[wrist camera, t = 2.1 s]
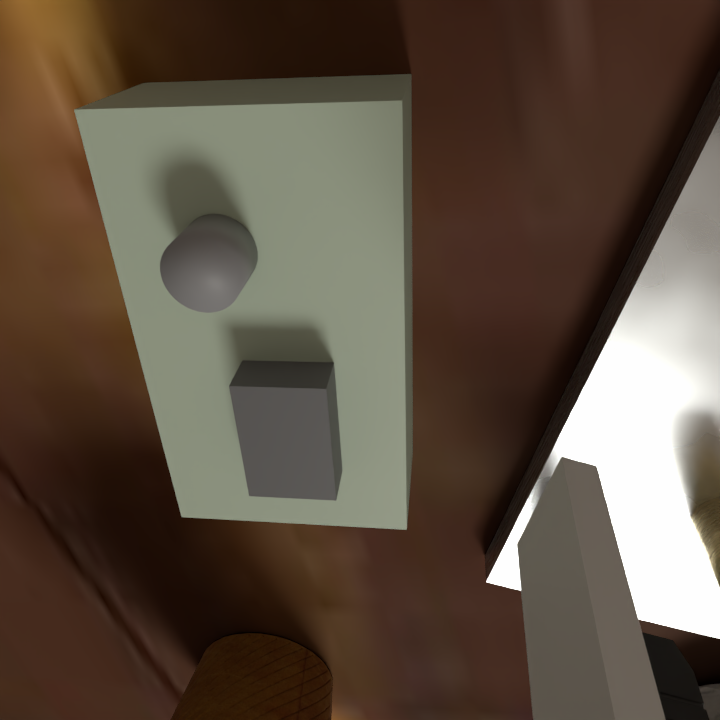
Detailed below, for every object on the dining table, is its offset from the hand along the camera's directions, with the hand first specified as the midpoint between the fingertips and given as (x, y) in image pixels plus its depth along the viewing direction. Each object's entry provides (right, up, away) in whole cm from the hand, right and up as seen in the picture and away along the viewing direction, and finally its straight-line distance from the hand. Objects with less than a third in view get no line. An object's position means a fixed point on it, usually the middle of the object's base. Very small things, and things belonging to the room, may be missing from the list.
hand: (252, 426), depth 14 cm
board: (0, +4, +6) cm, 7 cm away
